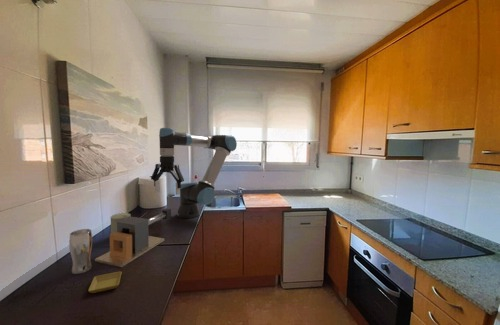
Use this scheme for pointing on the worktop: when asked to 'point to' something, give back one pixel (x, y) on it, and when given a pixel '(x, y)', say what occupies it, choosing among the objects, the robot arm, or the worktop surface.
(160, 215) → the shaft
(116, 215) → the can
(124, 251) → the strip
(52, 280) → the worktop surface
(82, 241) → the beer glass
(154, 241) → the block
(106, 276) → the saucer
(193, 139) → the robot arm
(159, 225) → the worktop surface
